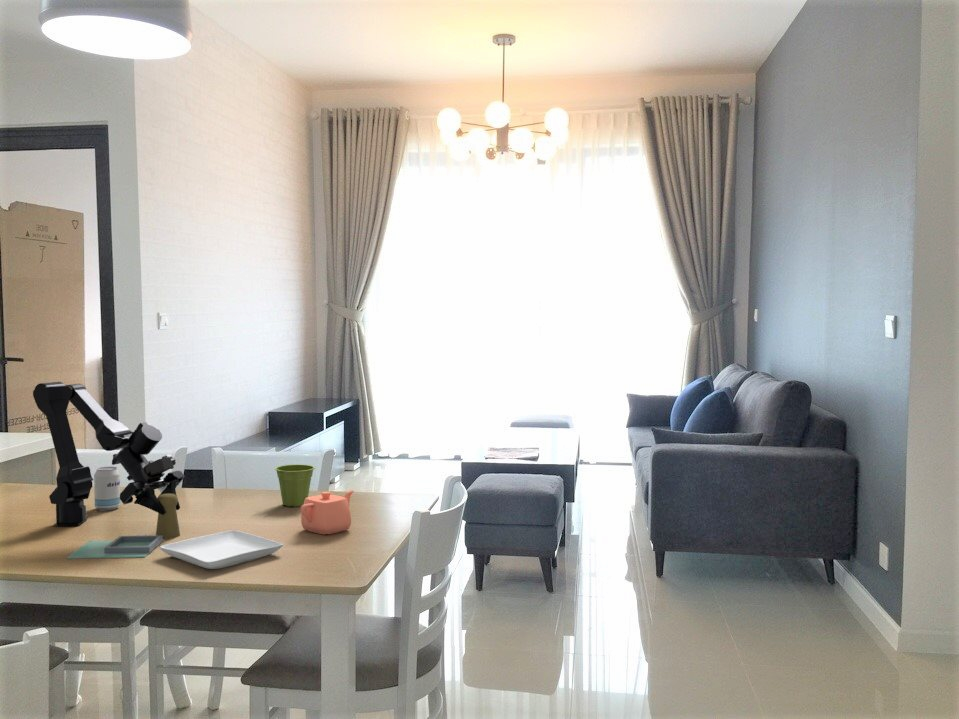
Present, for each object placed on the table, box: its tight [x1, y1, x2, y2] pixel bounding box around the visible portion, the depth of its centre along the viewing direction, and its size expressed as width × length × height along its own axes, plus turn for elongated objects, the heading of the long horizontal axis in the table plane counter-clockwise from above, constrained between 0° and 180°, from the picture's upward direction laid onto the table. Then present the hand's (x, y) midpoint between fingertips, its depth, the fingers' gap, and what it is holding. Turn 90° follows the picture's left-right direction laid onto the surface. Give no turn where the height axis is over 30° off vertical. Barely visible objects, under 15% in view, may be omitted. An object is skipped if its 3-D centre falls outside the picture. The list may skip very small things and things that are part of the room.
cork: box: [155, 493, 181, 540], centre depth 223 cm, size 6×6×11 cm
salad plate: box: [159, 529, 284, 570], centre depth 205 cm, size 21×21×3 cm
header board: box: [66, 534, 164, 559], centre depth 210 cm, size 18×14×2 cm
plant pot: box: [274, 464, 316, 507], centre depth 258 cm, size 12×12×11 cm
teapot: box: [299, 489, 355, 536], centre depth 230 cm, size 12×18×10 cm, turn 139°
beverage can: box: [93, 466, 121, 512], centre depth 251 cm, size 7×7×12 cm
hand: (171, 511), depth 222 cm, fingers closed on cork, 5 cm apart
